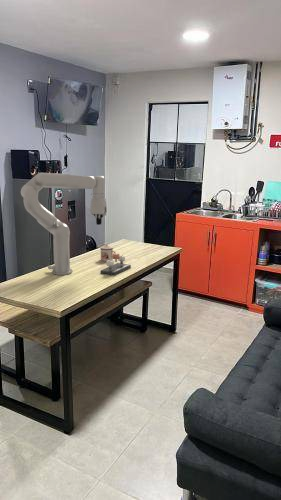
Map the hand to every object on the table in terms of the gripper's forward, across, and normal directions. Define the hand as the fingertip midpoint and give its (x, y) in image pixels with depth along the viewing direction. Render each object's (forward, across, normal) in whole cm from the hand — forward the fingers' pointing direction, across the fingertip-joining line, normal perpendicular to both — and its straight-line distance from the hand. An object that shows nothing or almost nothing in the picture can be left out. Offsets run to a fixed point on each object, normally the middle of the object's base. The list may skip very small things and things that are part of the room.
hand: (98, 224), depth 244 cm
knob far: (+26, +13, +7) cm, 30 cm away
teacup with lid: (+29, -6, +20) cm, 36 cm away
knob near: (+26, +13, -7) cm, 30 cm away
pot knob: (+23, +13, 0) cm, 27 cm away
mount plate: (+29, +13, 0) cm, 32 cm away
